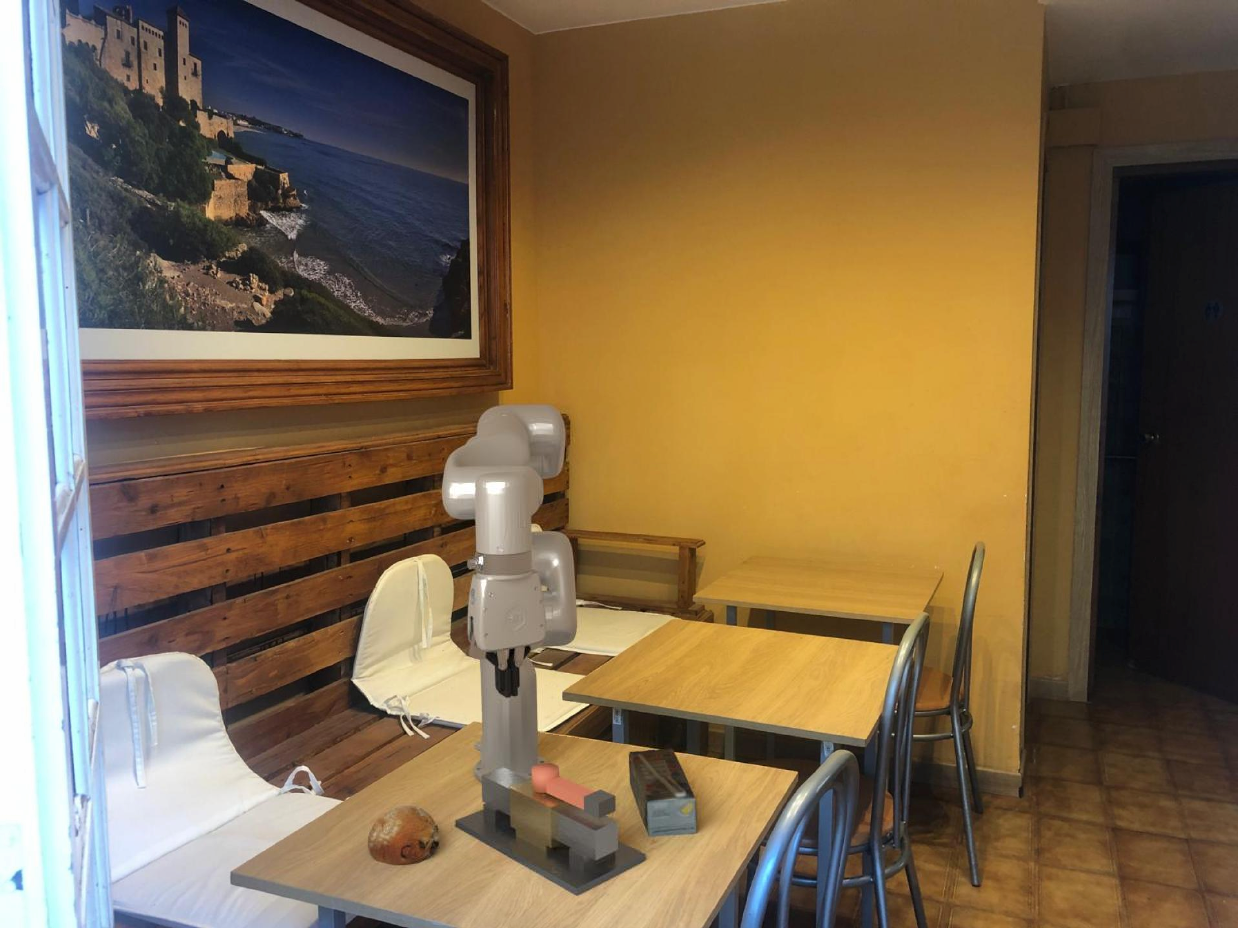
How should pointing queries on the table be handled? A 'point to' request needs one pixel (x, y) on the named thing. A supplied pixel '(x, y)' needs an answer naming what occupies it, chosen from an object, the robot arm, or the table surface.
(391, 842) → the bread roll
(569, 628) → the robot arm
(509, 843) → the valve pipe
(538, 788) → the lever
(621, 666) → the table surface
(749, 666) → the table surface
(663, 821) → the beverage carton
